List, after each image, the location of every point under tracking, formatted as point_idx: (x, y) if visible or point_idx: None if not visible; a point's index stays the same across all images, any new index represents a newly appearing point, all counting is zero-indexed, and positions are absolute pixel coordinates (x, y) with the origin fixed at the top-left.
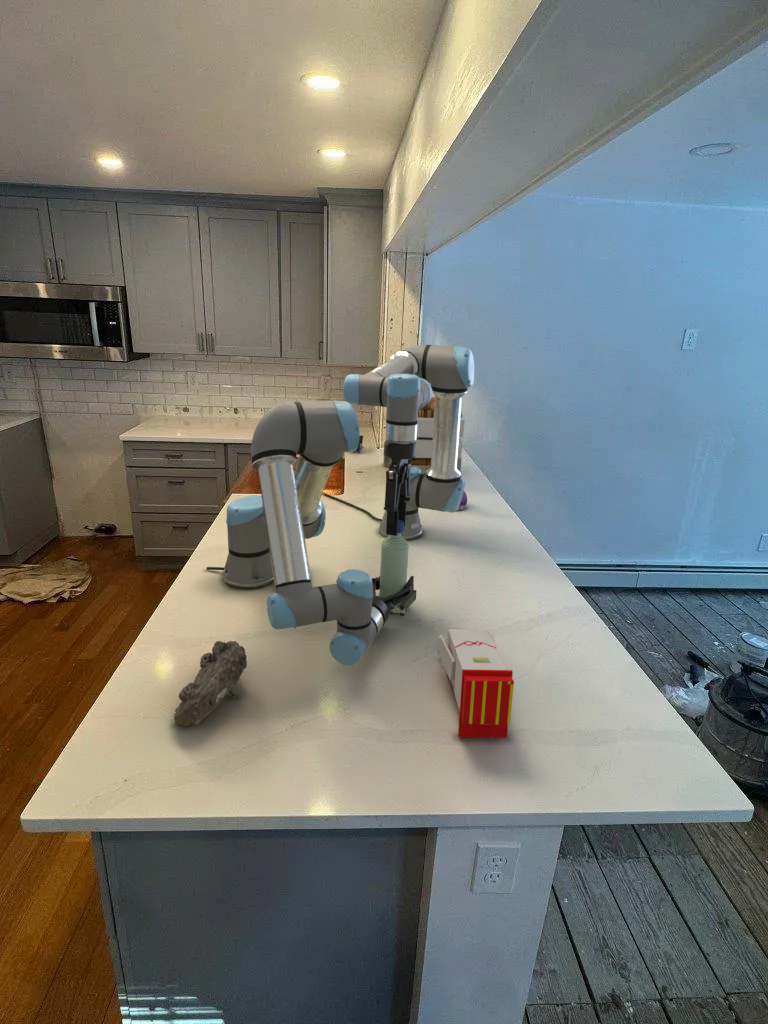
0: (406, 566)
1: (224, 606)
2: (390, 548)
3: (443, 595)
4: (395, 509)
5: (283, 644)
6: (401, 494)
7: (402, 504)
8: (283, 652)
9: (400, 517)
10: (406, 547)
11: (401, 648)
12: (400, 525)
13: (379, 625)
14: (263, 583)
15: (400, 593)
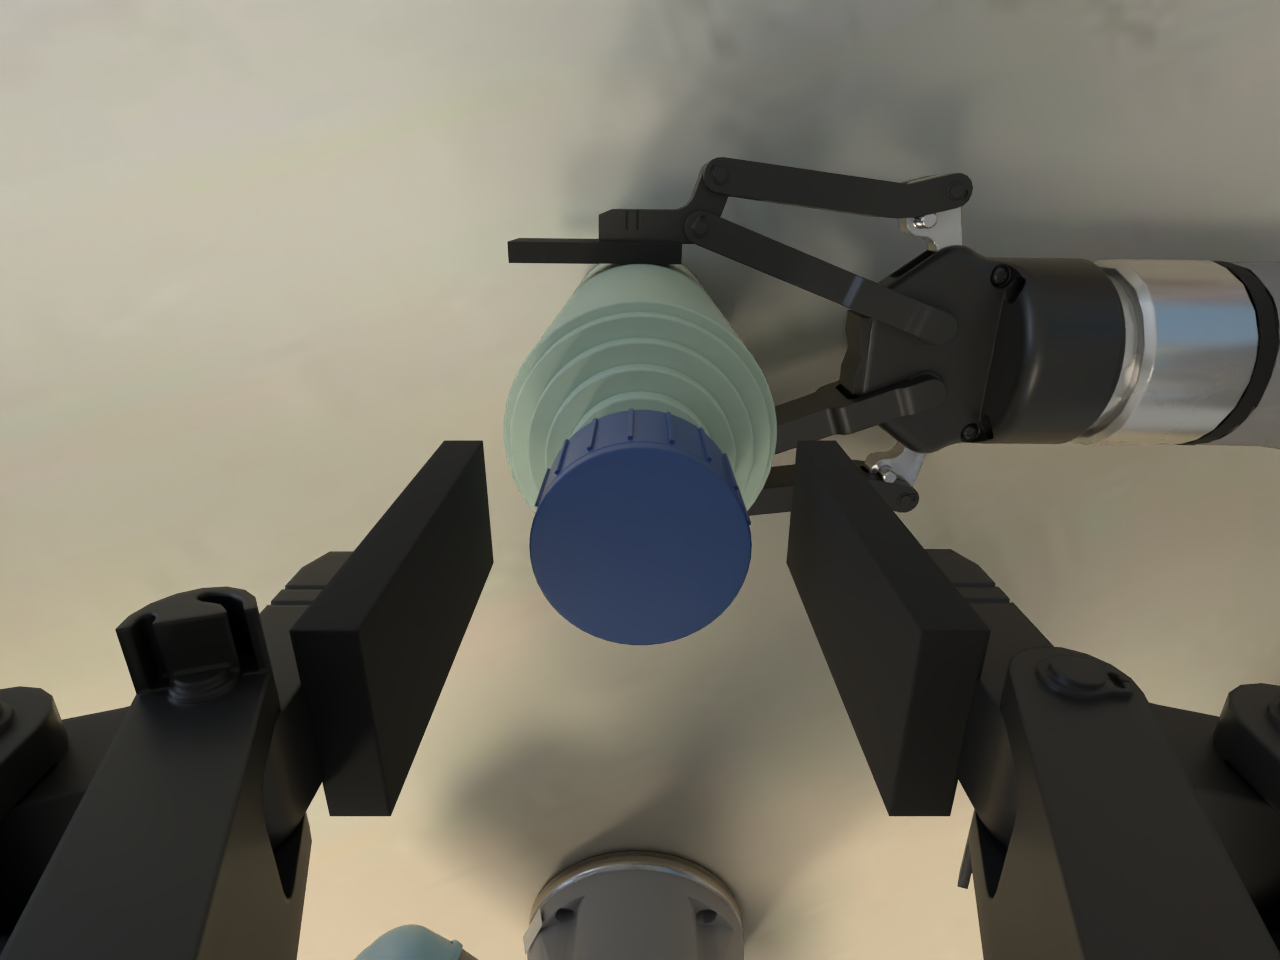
0: (652, 278)
1: (880, 898)
2: (767, 449)
3: (376, 56)
4: (1139, 698)
5: (1096, 631)
6: (266, 882)
7: (383, 663)
8: (1152, 609)
9: (458, 550)
10: (667, 311)
11: (1040, 142)
12: (711, 467)
13: (1188, 262)
14: (694, 874)
15: (786, 257)
